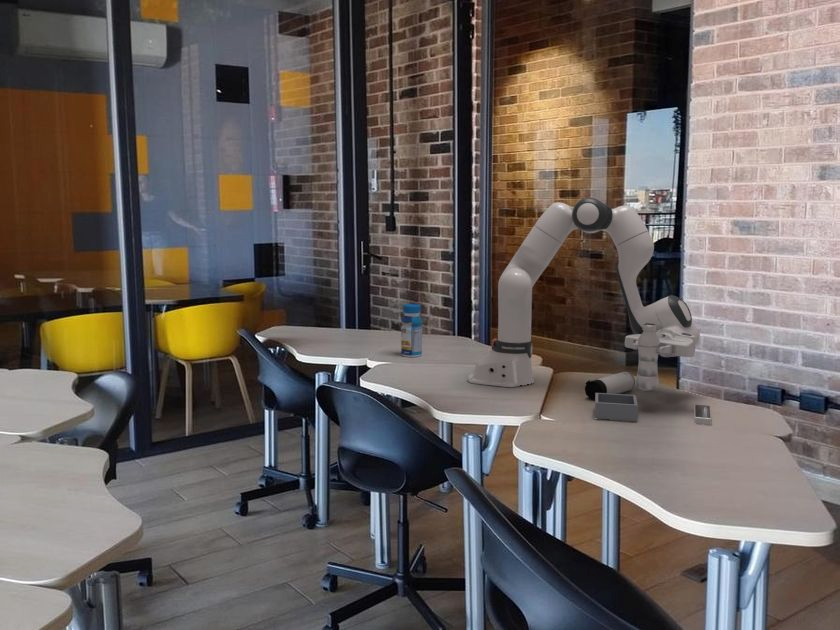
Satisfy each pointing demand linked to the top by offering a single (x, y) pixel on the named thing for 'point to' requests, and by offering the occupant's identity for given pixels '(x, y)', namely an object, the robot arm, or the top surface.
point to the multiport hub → (702, 414)
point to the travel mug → (610, 384)
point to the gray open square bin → (616, 406)
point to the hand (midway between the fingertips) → (647, 348)
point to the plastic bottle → (648, 358)
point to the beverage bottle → (411, 331)
